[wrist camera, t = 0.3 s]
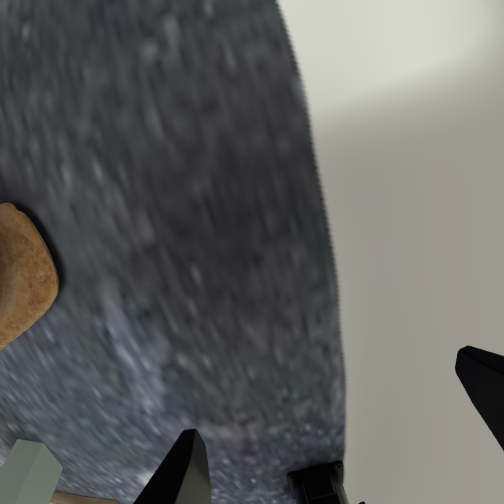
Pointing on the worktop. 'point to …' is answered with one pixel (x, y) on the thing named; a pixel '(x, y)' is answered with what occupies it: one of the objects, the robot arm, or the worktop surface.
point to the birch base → (77, 499)
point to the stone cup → (23, 274)
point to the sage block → (29, 474)
